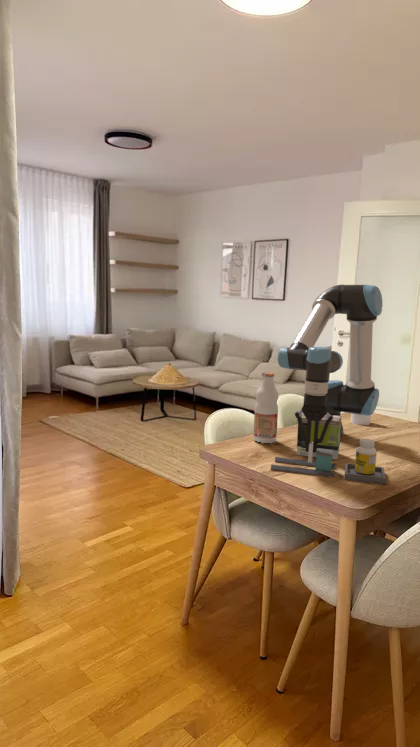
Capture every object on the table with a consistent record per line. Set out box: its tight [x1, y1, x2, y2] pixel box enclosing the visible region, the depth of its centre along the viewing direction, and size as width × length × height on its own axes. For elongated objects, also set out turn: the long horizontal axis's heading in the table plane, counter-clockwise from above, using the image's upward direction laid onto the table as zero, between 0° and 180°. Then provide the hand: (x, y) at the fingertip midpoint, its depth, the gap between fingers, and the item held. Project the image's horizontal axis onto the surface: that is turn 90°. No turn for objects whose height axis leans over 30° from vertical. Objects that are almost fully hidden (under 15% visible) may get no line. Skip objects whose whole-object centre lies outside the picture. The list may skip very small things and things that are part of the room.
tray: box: [343, 462, 387, 486], centre depth 167 cm, size 12×13×2 cm
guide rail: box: [270, 456, 337, 478], centre depth 173 cm, size 10×21×2 cm, turn 74°
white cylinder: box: [350, 413, 372, 426], centre depth 242 cm, size 9×9×12 cm
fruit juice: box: [252, 371, 279, 444], centre depth 203 cm, size 9×9×28 cm
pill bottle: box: [354, 438, 378, 476], centre depth 166 cm, size 6×6×12 cm
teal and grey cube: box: [314, 448, 333, 472], centre depth 170 cm, size 6×5×6 cm
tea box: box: [296, 413, 342, 460], centre depth 189 cm, size 15×10×15 cm, turn 71°
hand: (310, 461), depth 172 cm, fingers closed
